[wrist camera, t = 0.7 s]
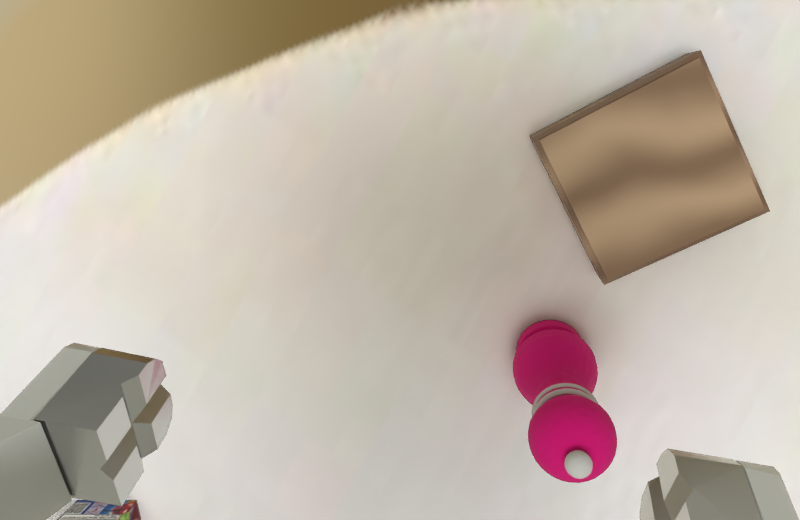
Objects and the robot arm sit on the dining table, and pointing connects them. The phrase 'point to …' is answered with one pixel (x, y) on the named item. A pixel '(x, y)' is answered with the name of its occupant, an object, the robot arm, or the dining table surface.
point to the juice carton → (102, 511)
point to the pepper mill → (563, 402)
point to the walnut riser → (651, 168)
